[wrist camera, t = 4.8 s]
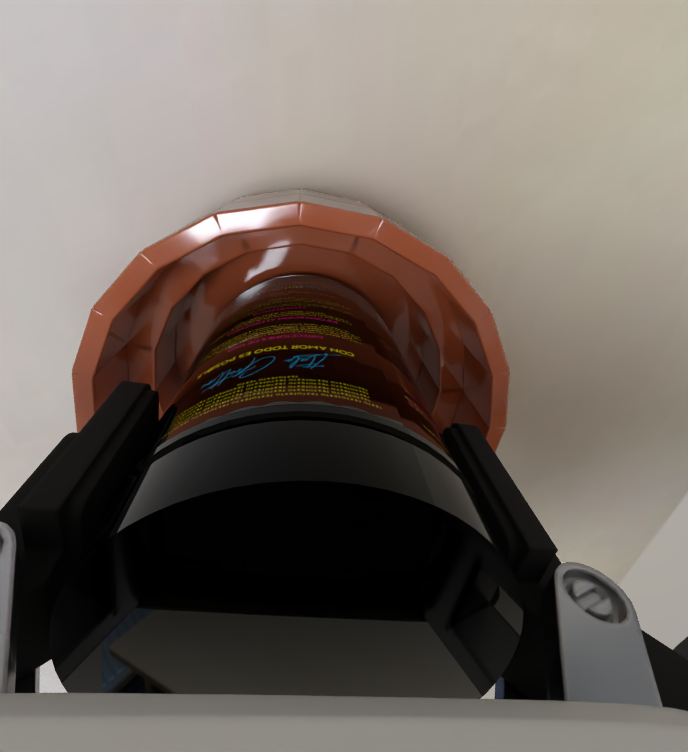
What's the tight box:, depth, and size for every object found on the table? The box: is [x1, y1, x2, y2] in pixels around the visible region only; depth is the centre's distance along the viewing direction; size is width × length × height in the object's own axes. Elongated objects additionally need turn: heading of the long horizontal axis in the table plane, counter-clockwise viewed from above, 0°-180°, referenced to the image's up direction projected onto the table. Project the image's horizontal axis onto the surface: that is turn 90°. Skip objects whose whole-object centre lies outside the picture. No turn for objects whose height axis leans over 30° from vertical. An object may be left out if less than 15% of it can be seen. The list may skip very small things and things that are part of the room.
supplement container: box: [49, 275, 523, 699], centre depth 11 cm, size 7×7×10 cm
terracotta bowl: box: [72, 189, 510, 452], centre depth 14 cm, size 11×11×5 cm
